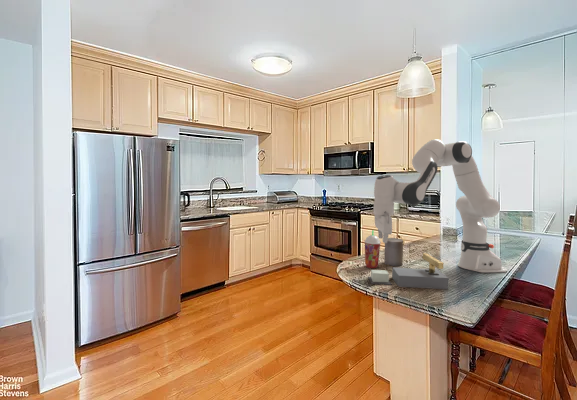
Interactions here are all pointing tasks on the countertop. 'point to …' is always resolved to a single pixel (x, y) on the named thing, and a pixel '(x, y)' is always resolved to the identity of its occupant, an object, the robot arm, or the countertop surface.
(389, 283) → the mat
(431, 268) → the key
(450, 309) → the countertop surface
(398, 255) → the pillar candle
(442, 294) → the countertop surface
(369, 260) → the smoothie
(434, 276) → the housing
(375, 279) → the cover
